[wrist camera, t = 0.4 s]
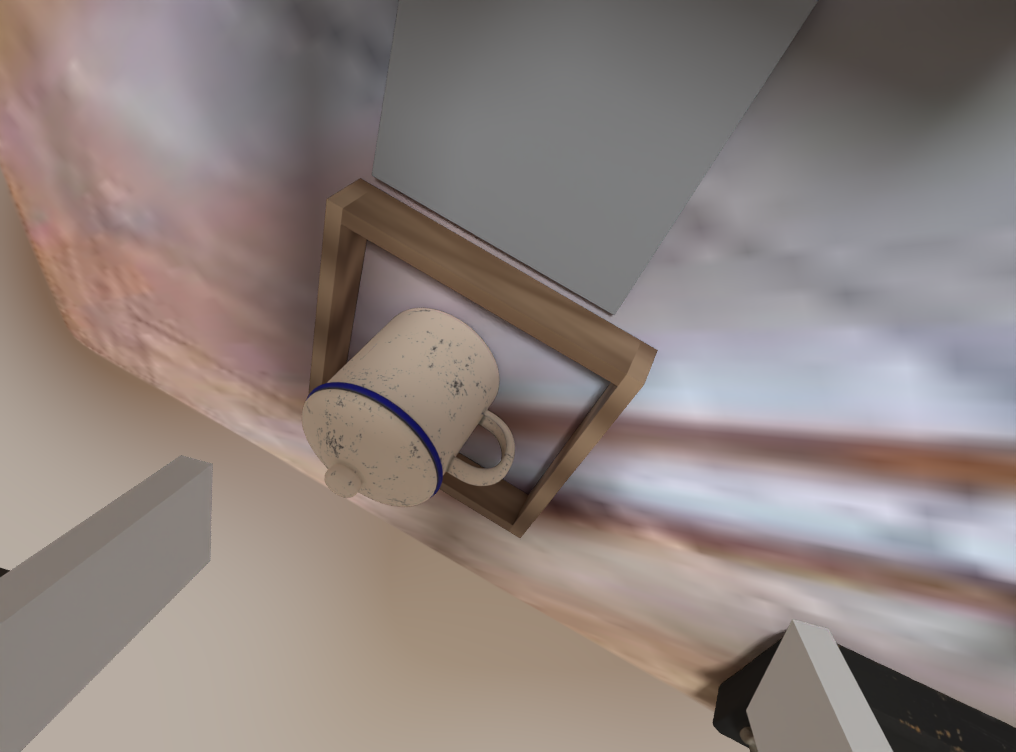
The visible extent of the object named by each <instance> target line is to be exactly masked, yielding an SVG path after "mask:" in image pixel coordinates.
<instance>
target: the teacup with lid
mask: <svg viewBox="0 0 1016 752" xmlns="http://www.w3.org/2000/svg"><path fill="white" fill-rule="evenodd" d="M498 389H499V372H498V367H497V364H496V361H495V359H494V357H493V355H492V353H491V351H490V349H489V348H488V346H487V345H486V343H485V342H484V341H483V340H482V338H481V337H480V336H479V335H478V334H477V333H476V332H475V331H474V330H473V329H471V328H470V327H469V326H468V325H466V324H465V323H464V322H462V321H461V320H459V319H457V318H456V317H454V316H452V315H450V314H447V313H445V312H442V311H439V310H435V309H429V308H413V309H409V310H406V311H403V312H401V313H399V314H398V315H397V316H395V317H394V318H393V319H392V320H391V321H390V322H389V323H388V324H387V325H386V326H385V327H384V328H383V329H382V330H381V331H380V332H379V333H378V334H377V335H376V336H375V337H373V338H372V339H371V340H370V341H369V342H368V343H367V344H366V345H365V346H364V347H363V348H362V349H361V350H360V351H359V352H358V353H357V354H356V355H355V356H354V357H353V358H352V359H351V360H350V361H349V362H348V363H347V364H346V365H345V366H344V367H343V368H342V369H340V370H339V371H338V372H337V373H336V374H335V375H334V376H333V377H332V378H331V379H330V380H329V381H328V382H327V383H325V384H322V385H320V386H318V387H316V388H315V389H313V390H312V391H311V392H310V394H309V395H308V397H307V400H306V402H305V404H304V406H303V411H302V426H303V430H304V433H305V436H306V438H307V440H308V442H309V444H310V446H311V448H312V449H313V451H314V452H315V454H316V455H317V457H318V458H319V459H320V460H321V462H322V463H323V464H324V465H325V466H326V467H327V468H328V470H327V472H326V473H325V483H326V485H327V486H328V488H329V489H330V490H331V491H332V492H334V493H335V494H337V495H338V496H341V497H343V498H350V497H353V496H355V495H356V494H357V493H360V494H362V495H364V496H366V497H368V498H370V499H373V500H375V501H378V502H380V503H383V504H387V505H391V506H398V507H410V506H415V505H418V504H421V503H423V502H425V501H427V500H428V499H429V498H431V497H432V496H434V495H435V494H436V493H437V491H438V490H439V488H440V486H441V484H442V480H443V475H444V474H445V472H448V473H449V474H451V475H453V476H454V477H456V478H458V479H460V480H461V481H463V482H466V483H468V484H471V485H476V486H487V485H492V484H495V483H497V482H499V481H500V480H501V479H503V478H504V477H505V475H506V474H507V473H508V471H509V469H510V467H511V465H512V462H513V459H514V454H515V444H514V439H513V436H512V433H511V431H510V429H509V428H508V426H507V425H506V424H505V423H504V422H503V421H502V420H501V419H500V418H499V417H497V416H496V415H495V414H493V413H491V412H490V411H488V408H489V407H490V405H491V404H492V402H493V401H494V399H495V397H496V395H497V393H498ZM478 424H479V425H481V426H482V427H484V428H485V429H487V430H488V431H490V432H491V433H492V434H493V435H494V436H495V437H496V438H497V440H498V442H499V444H500V447H501V453H502V457H501V462H500V463H499V464H498V465H497V466H495V467H492V468H487V469H482V468H477V467H474V466H471V465H469V464H467V463H465V462H464V461H462V460H460V459H459V458H457V457H456V456H457V454H458V453H459V451H460V450H461V448H462V447H463V445H464V444H465V442H466V441H467V439H468V438H469V436H470V435H471V433H472V432H473V430H474V429H475V427H476V426H477V425H478Z"/></svg>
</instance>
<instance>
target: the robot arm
mask: <svg viewBox="0 0 1016 752" xmlns="http://www.w3.org/2000/svg"><path fill="white" fill-rule="evenodd" d="M212 468H213V464H211V463H208V462H204V461H200V460H197V459H193V458H189V457H186V456H182V455H181V456H179V457H178V458H176V459H175V460H173V461H172V462H170V463H169V464H167V465H166V466H164V467H163V468H162V469H160V470H159V471H157V472H156V473H154V474H153V475H151V476H150V477H148V478H147V479H145V480H144V481H142V482H141V483H139V484H138V485H137V486H135V487H133V488H132V489H131V490H129V491H127V492H126V493H124V494H123V495H121V496H120V497H119V498H117V499H116V500H114V501H113V502H111V503H110V504H108V505H107V506H105V507H104V508H102V509H101V510H99V511H98V512H96V513H95V514H93V515H92V516H90V517H89V518H88V519H86V520H85V521H83V522H82V523H80V524H79V525H77V526H76V527H74V528H73V529H71V530H70V531H68V532H67V533H65V534H64V535H62V536H61V537H59V538H58V539H57V540H55V541H53V542H52V543H50V544H49V545H48V546H46V547H45V548H43V549H42V550H40V551H39V552H37V553H36V554H34V555H33V556H31V557H30V558H28V559H27V560H26V561H24V562H22V563H21V564H20V565H18V566H16V567H15V568H14V569H12V570H11V571H10V570H6V569H3V568H0V752H21V751H22V750H23V749H24V748H25V747H26V745H28V743H30V741H31V740H32V739H34V738H35V736H37V735H38V734H39V732H41V730H43V728H45V726H47V724H48V723H49V722H50V721H51V720H52V719H53V718H54V717H55V716H56V715H57V714H58V713H59V712H60V711H61V710H62V709H63V708H64V707H65V706H66V705H67V704H68V703H69V702H70V701H71V700H72V699H73V698H74V697H75V696H76V695H77V694H78V693H79V692H80V691H81V690H82V689H83V688H84V687H85V686H86V685H87V684H88V683H89V682H90V681H91V680H92V679H93V678H94V677H95V676H96V675H97V674H98V673H99V672H100V671H101V670H102V669H103V668H104V667H105V666H106V665H107V664H108V663H109V662H110V661H111V660H112V659H113V658H114V657H115V656H116V655H117V654H118V653H119V652H120V651H121V650H122V649H123V648H124V647H125V646H126V645H127V644H128V643H129V642H130V641H131V640H132V639H133V638H134V637H135V636H136V635H137V634H138V633H139V632H140V631H141V630H142V629H143V628H144V627H145V626H146V625H147V624H148V623H149V622H150V621H151V620H152V619H153V618H154V617H155V616H156V615H157V614H158V613H159V612H160V611H161V610H162V609H163V608H164V607H165V606H166V605H167V604H168V603H169V602H170V601H171V600H172V599H173V598H174V597H175V596H176V595H177V594H178V593H179V592H180V591H181V590H182V589H183V588H184V587H185V586H186V585H187V584H188V583H189V582H190V580H192V579H193V577H195V576H196V575H197V574H198V573H199V572H200V571H201V569H203V568H204V567H205V566H206V565H207V564H208V563H209V562H210V549H211V510H212V470H213V469H212ZM746 712H747V715H748V718H749V722H750V725H751V729H752V732H753V736H754V739H755V743H756V746H757V750H758V752H893V750H892V749H891V747H890V745H889V743H888V741H887V739H886V737H885V735H884V733H883V731H882V730H881V728H880V726H879V724H878V722H877V720H876V718H875V716H874V714H873V712H872V710H871V709H870V707H869V705H868V703H867V701H866V699H865V697H864V695H863V693H862V691H861V690H860V688H859V686H858V684H857V682H856V680H855V678H854V676H853V674H852V672H851V671H850V669H849V667H848V665H847V663H846V661H845V659H844V657H843V655H842V653H841V651H840V650H839V648H838V646H837V644H836V642H835V640H834V638H833V636H832V634H831V632H830V631H829V629H827V628H824V627H820V626H816V625H812V624H809V623H805V622H801V621H797V620H794V619H792V621H791V623H790V625H789V627H788V629H787V631H786V633H785V635H784V637H783V639H782V641H781V643H780V645H779V647H778V649H777V651H776V653H775V655H774V656H773V658H772V660H771V662H770V664H769V666H768V668H767V670H766V672H765V674H764V676H763V678H762V680H761V682H760V684H759V686H758V688H757V690H756V692H755V694H754V696H753V698H752V700H751V702H750V704H749V706H748V708H747V710H746Z"/></svg>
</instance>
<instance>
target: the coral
mask: <svg viewBox="0 0 1016 752" xmlns="http://www.w3.org/2000/svg"><path fill="white" fill-rule="evenodd" d="M782 639H783V638H782ZM782 639H781V640H780V641H778V642H777V643H776V644H774V645H773V646H772V647H770V648H769V649H768V650H766V651H765V652H764V653H762V654H761V655H760V656H758V657H757V658H756V659H754V660H753V661H752V662H751V663H749V664H748V665H747V666H745V667H744V668H743V670H740V671H739V672H737V673H736V674H735V675H733V676H732V677H731V678H729V679H728V680H727V681H725V682H724V683H722V684H721V685H720V686H719V690H718V696H717V702H716V708H715V713H714V718H713V726H714V727H715V728H716V729H717V730H718V731H719V732H720V733H721V734H723V735H725V736H727V737H729V738H731V739H733V740H735V741H736V742H739V743H740V744H742V745H744V746H746V747H748V748H749V749H750V752H758V750H757V746H756V743H755V739H754V736H753V732H752V729H751V725H750V722H749V718H748V715H747V712H746V710H747V708H748V706H749V704H750V702H751V700H752V698H753V696H754V694H755V692H756V690H757V688H758V686H759V684H760V682H761V680H762V678H763V676H764V674H765V672H766V670H767V668H768V666H769V664H770V662H771V660H772V658H773V656H774V655H775V653H776V651H777V649H778V647H779V645H780V643H781V641H782ZM836 644H837V643H836ZM837 646H838V648H839V650H840V651H841V653H842V655H843V657H844V659H845V661H846V663H847V665H848V667H849V669H850V671H851V672H852V674H853V676H854V678H855V680H856V682H857V684H858V686H859V688H860V690H861V691H862V693H863V695H864V697H865V699H866V701H867V703H868V705H869V707H870V709H871V710H872V712H873V714H874V716H875V718H876V720H877V722H878V724H879V726H880V728H881V730H882V731H883V733H884V735H885V737H886V739H887V741H888V743H889V745H890V747H891V749H892V750H893V752H1016V728H1014V727H1012V726H1010V725H1008V724H1006V723H1004V722H1002V721H1000V720H998V719H996V718H994V717H991V716H988V715H986V714H985V713H983V712H981V711H979V710H977V709H974V708H972V707H970V706H968V705H966V704H963V703H961V702H959V701H957V700H954V699H952V698H950V697H948V696H947V695H944V694H942V693H940V692H938V691H936V690H934V689H932V688H929V687H927V686H925V685H923V684H921V683H919V682H916V681H914V680H912V679H910V678H908V677H906V676H904V675H902V674H900V673H898V672H896V671H894V670H892V669H889V668H887V667H885V666H883V665H881V664H878V663H876V662H874V661H872V660H870V659H867V658H866V657H864V656H862V655H860V654H857V653H856V652H854V651H851V650H849V649H847V648H845V647H843V646H841V645H839V644H837Z"/></svg>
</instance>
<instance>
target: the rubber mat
mask: <svg viewBox="0 0 1016 752" xmlns="http://www.w3.org/2000/svg"><path fill="white" fill-rule="evenodd" d="M817 1H818V0H399V3H398V9H397V16H396V22H395V29H394V35H393V42H392V48H391V54H390V61H389V67H388V74H387V80H386V87H385V93H384V99H383V106H382V112H381V119H380V125H379V132H378V138H377V144H376V151H375V157H374V164H373V170H372V176H374V177H376V178H377V179H379V180H381V181H382V182H384V183H386V184H388V185H389V186H391V187H393V188H395V189H396V190H398V191H400V192H402V193H403V194H405V195H407V196H408V197H410V198H412V199H414V200H415V201H417V202H419V203H421V204H422V205H424V206H426V207H428V208H429V209H431V210H433V211H434V212H436V213H438V214H440V215H441V216H443V217H445V218H447V219H448V220H450V221H452V222H454V223H455V224H457V225H459V226H460V227H462V228H464V229H466V230H467V231H469V232H471V233H473V234H474V235H476V236H478V237H479V238H481V239H483V240H485V241H486V242H488V243H490V244H492V245H493V246H495V247H497V248H499V249H500V250H502V251H504V252H505V253H507V254H509V255H511V256H512V257H514V258H516V259H518V260H519V261H521V262H523V263H525V264H526V265H528V266H530V267H531V268H533V269H535V270H537V271H538V272H540V273H542V274H544V275H545V276H547V277H549V278H551V279H552V280H554V281H556V282H557V283H559V284H561V285H563V286H564V287H566V288H568V289H570V290H571V291H573V292H575V293H576V294H578V295H580V296H582V297H583V298H585V299H587V300H589V301H590V302H592V303H594V304H596V305H597V306H599V307H601V308H602V309H604V310H606V311H608V312H609V313H611V314H613V315H615V314H616V312H617V310H618V309H619V307H620V306H621V304H622V303H623V301H624V300H625V298H626V297H627V295H628V293H629V292H630V290H631V289H632V287H633V286H634V284H635V283H636V281H637V280H638V278H639V277H640V275H641V273H642V272H643V270H644V269H645V267H646V266H647V264H648V263H649V261H650V260H651V258H652V256H653V255H654V253H655V252H656V250H657V249H658V247H659V246H660V244H661V243H662V241H663V239H664V238H665V236H666V235H667V233H668V232H669V230H670V229H671V227H672V226H673V224H674V222H675V221H676V219H677V218H678V216H679V215H680V213H681V212H682V210H683V209H684V207H685V205H686V204H687V202H688V201H689V199H690V198H691V196H692V195H693V193H694V192H695V190H696V188H697V187H698V185H699V184H700V182H701V181H702V179H703V178H704V176H705V175H706V173H707V171H708V170H709V168H710V167H711V165H712V164H713V162H714V161H715V159H716V158H717V156H718V154H719V153H720V151H721V150H722V148H723V147H724V145H725V144H726V142H727V141H728V139H729V137H730V136H731V134H732V133H733V131H734V130H735V128H736V127H737V125H738V124H739V122H740V120H741V119H742V117H743V116H744V114H745V113H746V111H747V110H748V108H749V107H750V105H751V103H752V102H753V100H754V99H755V97H756V96H757V94H758V93H759V91H760V90H761V88H762V86H763V85H764V83H765V82H766V80H767V79H768V77H769V76H770V74H771V73H772V71H773V69H774V68H775V66H776V65H777V63H778V62H779V60H780V59H781V57H782V56H783V54H784V52H785V51H786V49H787V48H788V46H789V45H790V43H791V42H792V40H793V39H794V37H795V35H796V34H797V32H798V31H799V29H800V28H801V26H802V25H803V23H804V22H805V20H806V18H807V17H808V15H809V14H810V12H811V11H812V9H813V8H814V6H815V5H816V3H817Z"/></svg>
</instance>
